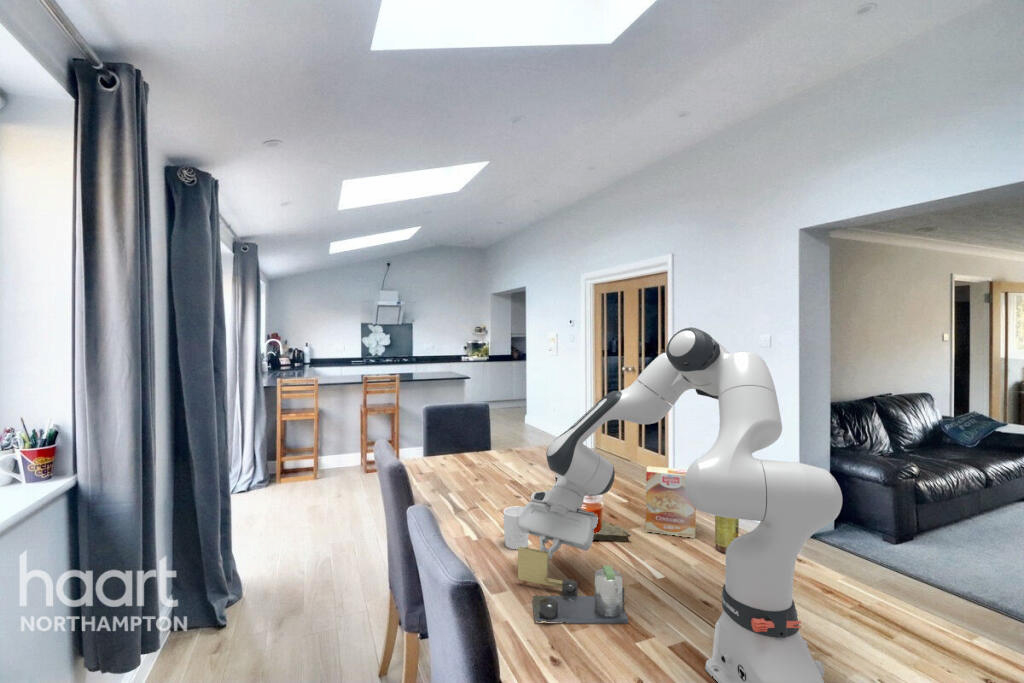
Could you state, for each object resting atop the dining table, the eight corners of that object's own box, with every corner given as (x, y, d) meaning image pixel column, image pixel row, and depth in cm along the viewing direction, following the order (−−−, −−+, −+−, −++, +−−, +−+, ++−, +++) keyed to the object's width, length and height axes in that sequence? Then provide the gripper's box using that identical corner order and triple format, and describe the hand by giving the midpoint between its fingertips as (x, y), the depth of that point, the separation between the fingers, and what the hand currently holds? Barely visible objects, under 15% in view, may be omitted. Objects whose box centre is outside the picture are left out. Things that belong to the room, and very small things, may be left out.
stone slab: (548, 521, 157) (550, 505, 157) (571, 519, 165) (574, 504, 165) (613, 553, 137) (616, 535, 137) (637, 549, 145) (639, 532, 145)
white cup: (498, 547, 138) (498, 512, 138) (510, 537, 145) (511, 504, 145) (522, 553, 135) (522, 518, 135) (534, 542, 142) (534, 509, 142)
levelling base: (633, 624, 102) (634, 579, 101) (535, 624, 101) (535, 579, 101) (621, 599, 112) (622, 557, 111) (532, 598, 111) (533, 557, 111)
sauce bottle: (741, 556, 134) (742, 485, 134) (717, 553, 136) (718, 484, 135) (735, 546, 141) (736, 479, 141) (712, 544, 142) (713, 477, 142)
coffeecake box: (645, 532, 150) (645, 471, 150) (645, 524, 157) (646, 465, 156) (695, 539, 145) (696, 475, 145) (694, 530, 152) (695, 469, 152)
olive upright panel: (578, 590, 114) (579, 554, 114) (575, 598, 111) (575, 561, 111) (521, 579, 120) (521, 544, 120) (516, 586, 116) (516, 550, 116)
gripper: (604, 520, 121) (586, 574, 113) (535, 503, 133) (515, 551, 125) (596, 508, 117) (578, 563, 109) (527, 491, 129) (505, 540, 121)
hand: (544, 556), depth 117 cm, fingers closed
